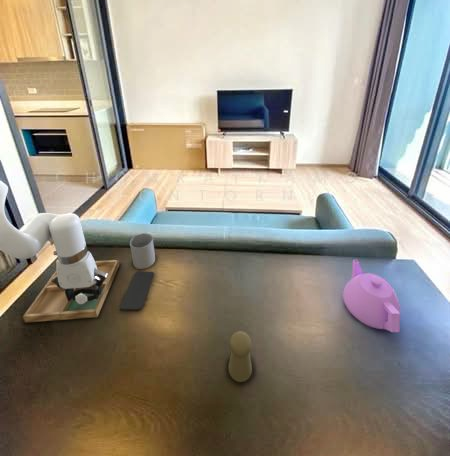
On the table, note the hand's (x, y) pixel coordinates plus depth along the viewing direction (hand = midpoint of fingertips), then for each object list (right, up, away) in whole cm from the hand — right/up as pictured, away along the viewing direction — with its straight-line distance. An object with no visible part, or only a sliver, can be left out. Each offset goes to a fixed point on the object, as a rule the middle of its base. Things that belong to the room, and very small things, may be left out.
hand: (84, 296), depth 81 cm
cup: (+14, +4, +18) cm, 23 cm away
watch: (0, -1, 0) cm, 1 cm away
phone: (+16, -1, +5) cm, 16 cm away
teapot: (+91, -3, -2) cm, 91 cm away
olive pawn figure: (+50, -9, -17) cm, 53 cm away
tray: (-5, -1, +5) cm, 8 cm away
